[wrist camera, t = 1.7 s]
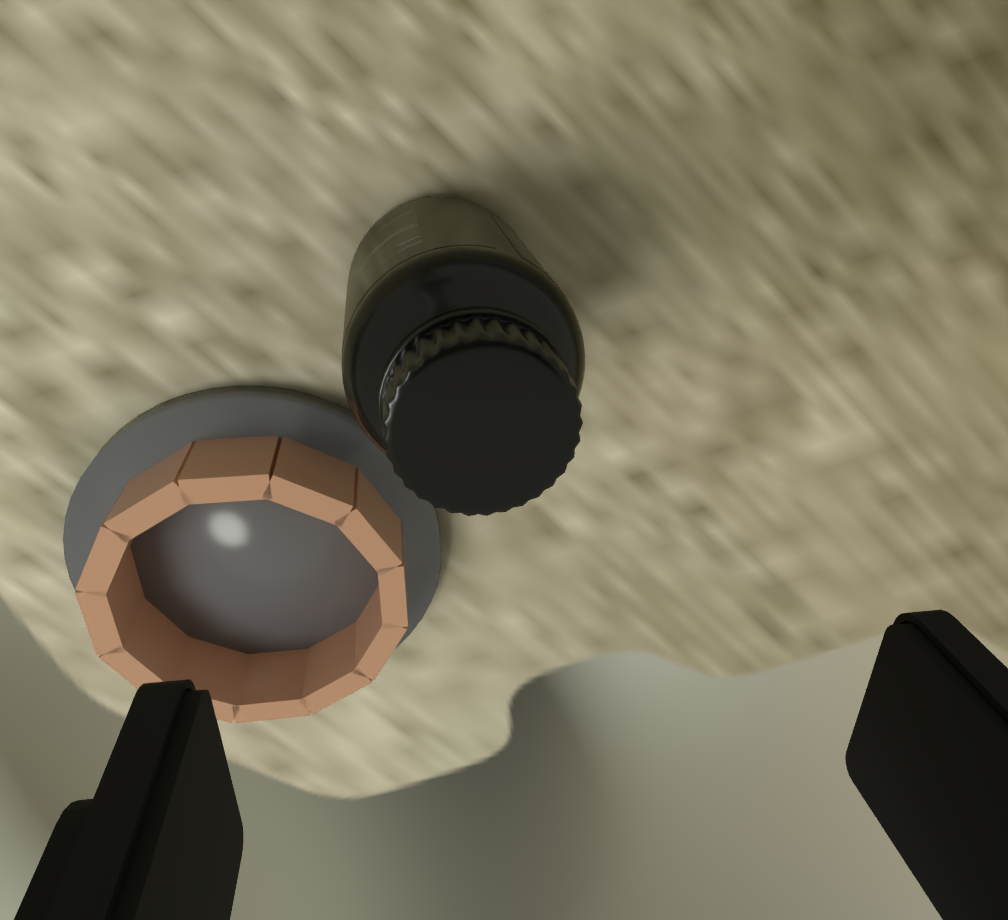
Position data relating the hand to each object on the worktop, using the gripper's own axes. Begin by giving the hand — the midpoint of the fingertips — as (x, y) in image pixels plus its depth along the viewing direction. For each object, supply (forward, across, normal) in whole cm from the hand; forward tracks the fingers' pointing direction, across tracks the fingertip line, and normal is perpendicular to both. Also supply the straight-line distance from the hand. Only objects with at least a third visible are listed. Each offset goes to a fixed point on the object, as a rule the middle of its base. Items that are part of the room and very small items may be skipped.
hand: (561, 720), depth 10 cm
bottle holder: (+20, +8, +10) cm, 24 cm away
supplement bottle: (+20, 0, -1) cm, 20 cm away
